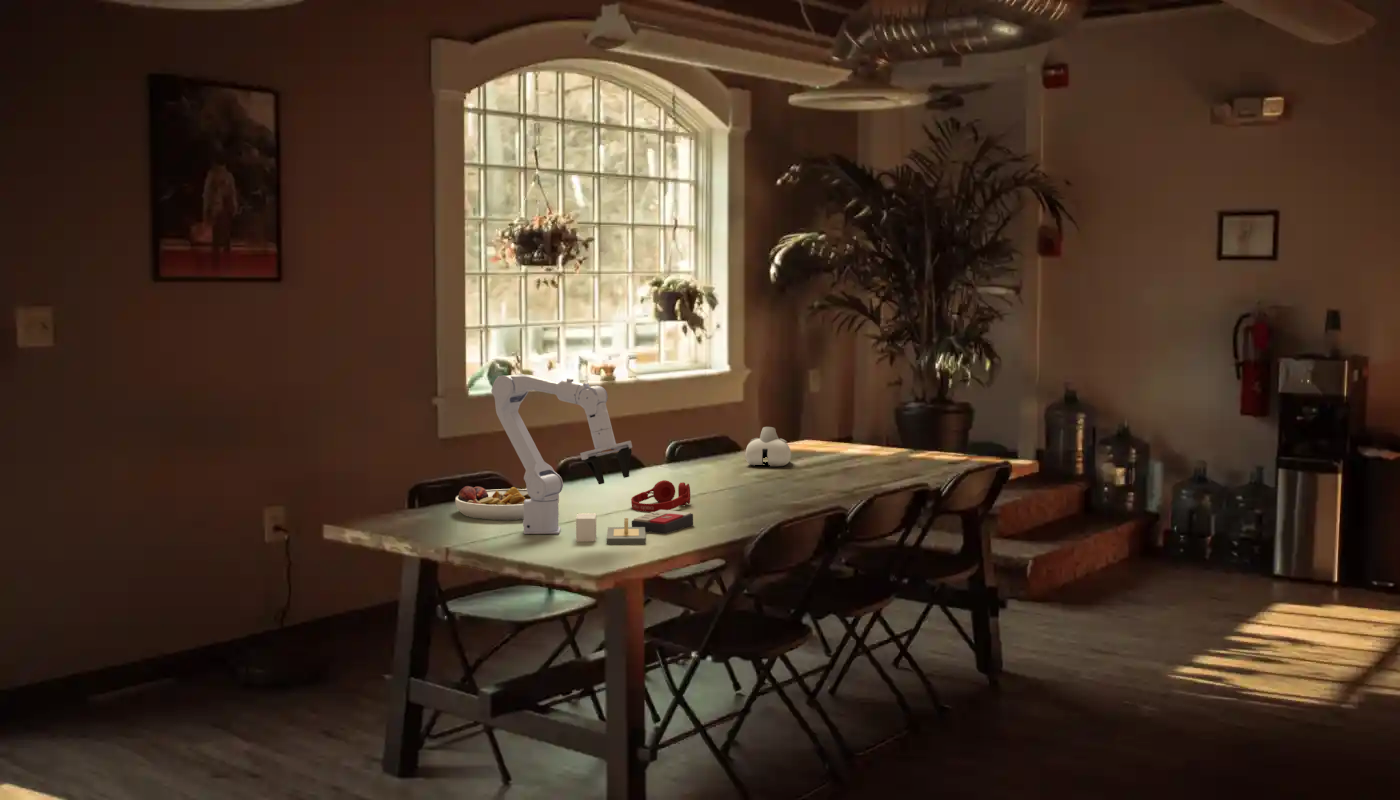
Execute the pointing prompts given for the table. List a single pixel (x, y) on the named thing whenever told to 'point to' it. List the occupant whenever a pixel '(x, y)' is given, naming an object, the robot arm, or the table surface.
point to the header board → (626, 534)
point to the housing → (586, 527)
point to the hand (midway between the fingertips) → (614, 480)
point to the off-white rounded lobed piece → (768, 449)
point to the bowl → (492, 503)
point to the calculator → (664, 521)
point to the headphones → (662, 497)
